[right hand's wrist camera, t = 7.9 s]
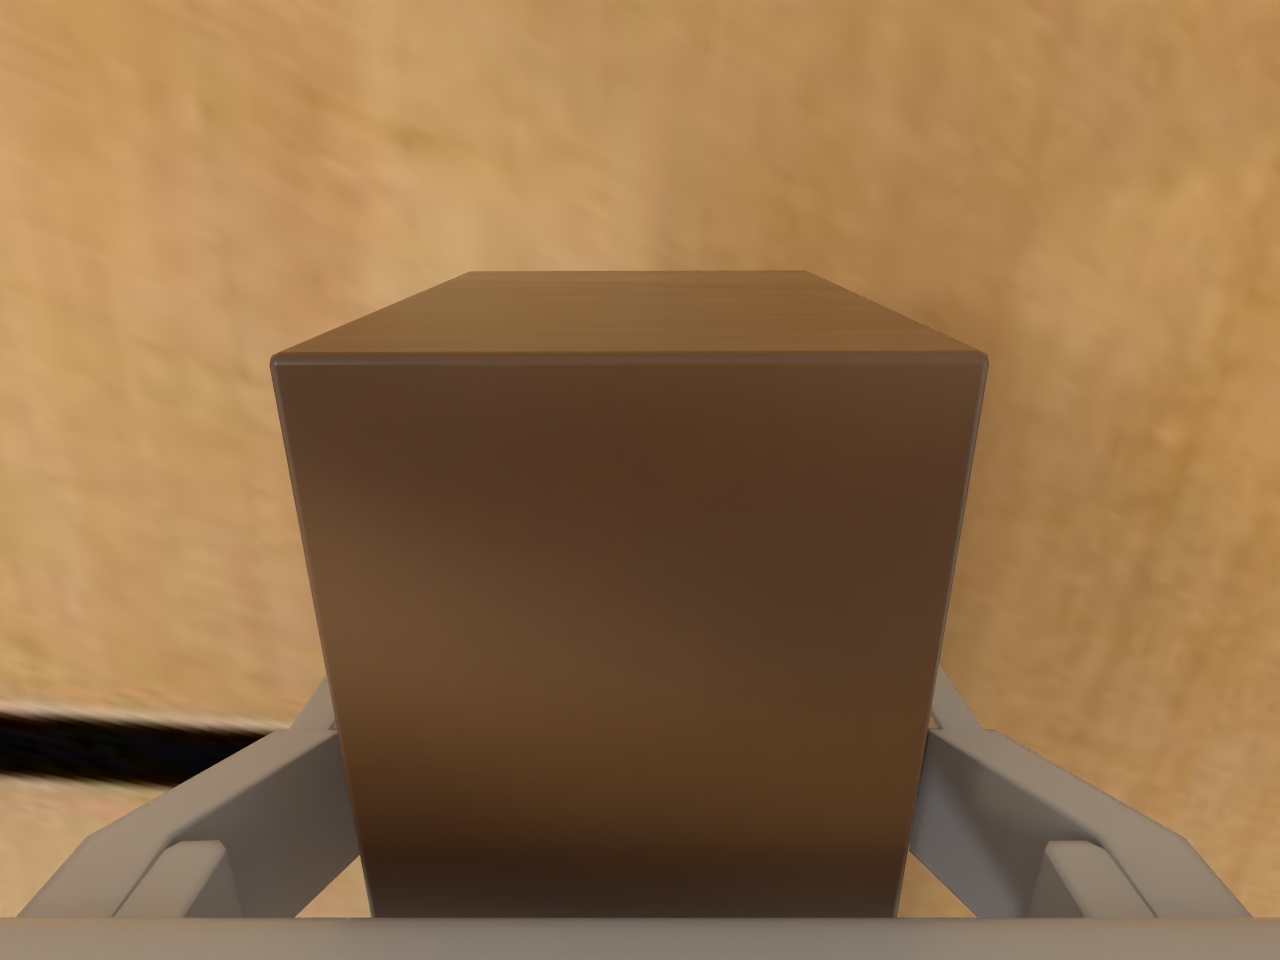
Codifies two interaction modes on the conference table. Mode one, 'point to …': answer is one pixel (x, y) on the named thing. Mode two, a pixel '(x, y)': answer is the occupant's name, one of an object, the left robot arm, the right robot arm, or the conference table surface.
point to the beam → (631, 587)
